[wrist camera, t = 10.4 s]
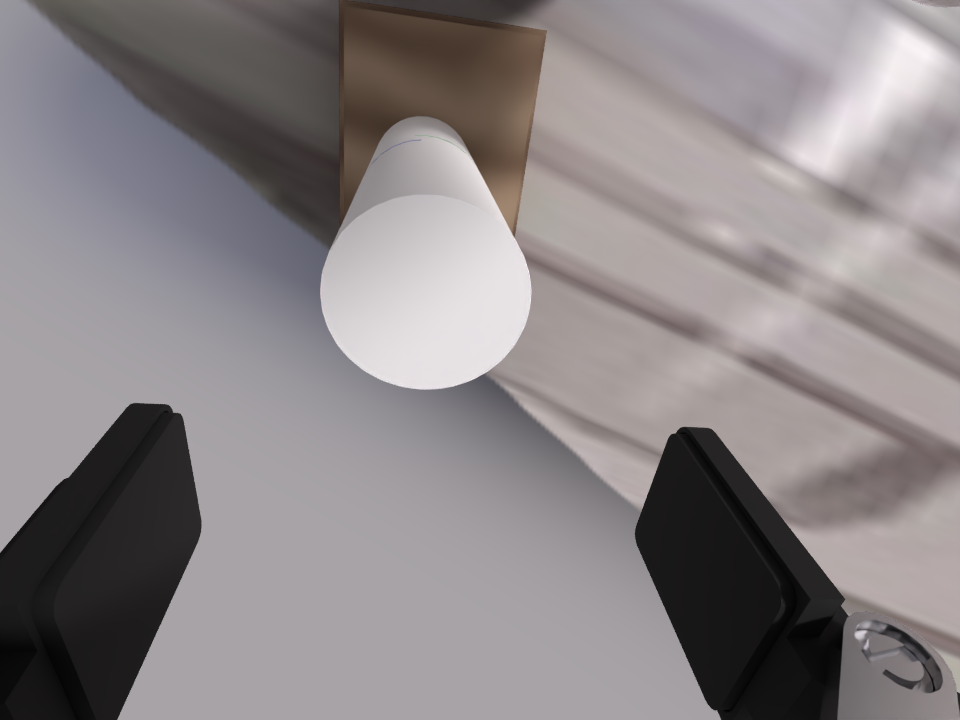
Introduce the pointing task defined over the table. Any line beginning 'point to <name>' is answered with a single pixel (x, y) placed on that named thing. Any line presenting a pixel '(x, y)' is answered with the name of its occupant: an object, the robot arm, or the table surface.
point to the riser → (438, 90)
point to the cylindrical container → (424, 265)
